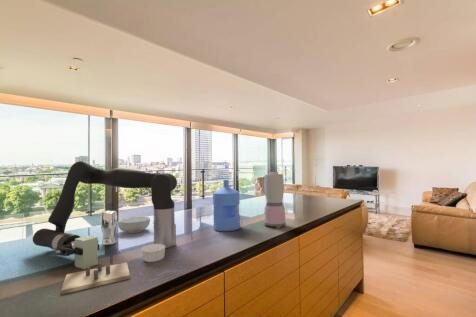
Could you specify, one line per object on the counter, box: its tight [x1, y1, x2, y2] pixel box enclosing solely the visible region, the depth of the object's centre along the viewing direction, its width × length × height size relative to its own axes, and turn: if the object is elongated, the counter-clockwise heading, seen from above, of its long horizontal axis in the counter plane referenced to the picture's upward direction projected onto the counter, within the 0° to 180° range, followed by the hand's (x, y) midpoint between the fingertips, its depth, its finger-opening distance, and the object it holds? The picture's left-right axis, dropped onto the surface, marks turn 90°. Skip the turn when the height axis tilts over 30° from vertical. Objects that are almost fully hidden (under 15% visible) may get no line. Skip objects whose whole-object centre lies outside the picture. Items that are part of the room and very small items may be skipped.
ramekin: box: [141, 243, 166, 263], centre depth 93 cm, size 9×9×4 cm
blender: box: [261, 171, 287, 229], centre depth 141 cm, size 16×12×32 cm
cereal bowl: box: [117, 216, 151, 234], centre depth 134 cm, size 17×17×7 cm
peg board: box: [60, 261, 131, 295], centre depth 77 cm, size 18×12×4 cm, turn 120°
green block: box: [74, 234, 99, 270], centre depth 88 cm, size 6×5×10 cm
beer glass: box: [100, 210, 118, 246], centre depth 114 cm, size 7×7×15 cm
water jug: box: [212, 179, 241, 232], centre depth 137 cm, size 16×16×28 cm
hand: (90, 249), depth 87 cm, fingers closed on green block, 5 cm apart
